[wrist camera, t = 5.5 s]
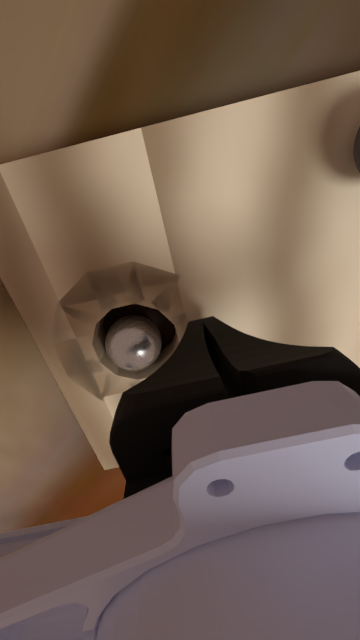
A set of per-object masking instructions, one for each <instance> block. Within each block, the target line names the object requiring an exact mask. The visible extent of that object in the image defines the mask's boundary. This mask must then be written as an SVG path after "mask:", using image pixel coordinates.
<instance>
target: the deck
mask: <svg viewBox="0 0 360 640" xmlns="http://www.w3.org/2000/svg"><path fill="white" fill-rule="evenodd" d="M359 127H360V71H356V72H353V73H349V74H345V75H341V76H337V77H333V78H330V79H326V80H322V81H318V82H314V83H310V84H307V85H303V86H299V87H295V88H291V89H287V90H284V91H280V92H276V93H272V94H268V95H264V96H261V97H257V98H253V99H249V100H245V101H242V102H238V103H234V104H230V105H226V106H222V107H219V108H215V109H211V110H207V111H203V112H199V113H196V114H192V115H188V116H184V117H180V118H176V119H173V120H169V121H165V122H161V123H157V124H153V125H150V126H146V127H142V128H138V129H134V130H130V131H127V132H123V133H119V134H115V135H111V136H107V137H104V138H100V139H96V140H92V141H88V142H84V143H81V144H77V145H73V146H69V147H65V148H62V149H58V150H54V151H50V152H46V153H42V154H39V155H35V156H31V157H27V158H23V159H19V160H16V161H12V162H8V163H4V164H0V278H1V280H2V282H3V284H4V285H5V287H6V289H7V291H8V293H9V295H10V297H11V298H12V300H13V302H14V304H15V306H16V308H17V309H18V311H19V313H20V315H21V317H22V319H23V321H24V322H25V324H26V326H27V328H28V330H29V332H30V333H31V335H32V337H33V339H34V341H35V343H36V345H37V346H38V348H39V350H40V352H41V354H42V356H43V357H44V359H45V361H46V363H47V365H48V367H49V369H50V370H51V372H52V374H53V376H54V378H55V380H56V381H57V383H58V385H59V387H60V389H61V391H62V393H63V394H64V396H65V398H66V400H67V402H68V404H69V405H70V407H71V409H72V411H73V413H74V415H75V417H76V418H77V420H78V422H79V424H80V426H81V428H82V429H83V431H84V433H85V435H86V437H87V439H88V441H89V442H90V444H91V446H92V448H93V450H94V452H95V453H96V455H97V457H98V459H99V461H100V463H101V465H102V466H103V468H104V470H107V469H112V468H117V467H119V465H118V463H117V461H116V459H115V457H114V455H113V453H112V451H111V447H110V444H109V439H110V431H111V427H112V423H113V419H114V415H115V412H116V409H117V406H118V403H119V401H120V398H121V396H122V393H123V392H124V391H126V390H128V389H130V388H131V387H133V386H135V385H136V384H138V383H140V382H141V381H143V380H144V379H146V378H147V377H149V376H150V375H151V374H153V373H154V372H155V371H156V370H157V369H159V368H160V367H161V366H162V365H163V364H164V363H165V362H166V361H167V360H168V359H169V358H170V356H171V355H172V354H173V352H174V351H175V349H176V348H177V346H178V344H179V343H180V341H181V339H182V337H183V335H184V333H185V330H186V327H187V324H188V322H189V321H193V320H198V319H202V318H207V317H211V316H214V317H216V318H217V319H219V320H220V321H222V322H224V323H225V324H227V325H229V326H231V327H232V328H234V329H236V330H239V331H241V332H243V333H245V334H248V335H251V336H254V337H257V338H260V339H264V340H267V341H272V342H277V343H282V344H289V345H299V346H317V347H334V348H336V349H337V350H339V351H340V352H341V353H343V354H344V355H345V356H346V357H348V358H349V359H350V360H351V361H353V362H354V363H355V364H356V365H357V366H358V367H359V368H360V173H359V171H358V169H357V167H356V165H355V161H354V155H353V149H354V142H355V138H356V135H357V132H358V129H359ZM130 304H139V305H142V306H146V307H150V308H154V309H157V310H159V311H160V312H161V313H162V314H163V315H164V316H165V317H166V318H167V319H169V320H170V321H171V322H172V323H173V324H174V325H175V329H176V331H175V334H174V337H173V340H172V342H171V343H170V344H168V345H167V346H166V347H165V348H164V349H163V350H161V351H160V354H159V356H158V358H157V359H156V360H155V361H154V363H153V364H151V365H150V366H149V367H147V368H145V369H142V370H139V371H127V370H124V369H121V368H119V367H118V366H116V365H115V364H114V363H113V362H112V361H111V360H110V359H109V357H108V355H107V352H106V348H105V339H106V335H107V333H106V331H105V328H104V326H103V322H104V317H105V315H106V314H107V313H108V312H109V311H110V310H111V309H113V308H118V307H122V306H126V305H130Z"/></svg>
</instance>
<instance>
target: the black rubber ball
mask: <svg viewBox="0 0 360 640" xmlns="http://www.w3.org/2000/svg"><path fill="white" fill-rule="evenodd" d="M353 155H354V161H355V165H356V167H357V169H358V171H359V173H360V127H359V129H358V132H357V135H356V138H355V142H354V149H353Z"/></svg>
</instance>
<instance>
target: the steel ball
mask: <svg viewBox="0 0 360 640" xmlns="http://www.w3.org/2000/svg"><path fill="white" fill-rule="evenodd" d="M161 347H162V338H161V334H160V332H159V330H158V328H157V326H156V325H155V324H154V323H153V322H152V321H151V320H149V319H147V318H145V317H143V316H139V315H129V316H125V317H122V318H120V319H119V320H117V321H116V322H115V323H113V325H112V326H111V327H110V328H109V330H108V332H107V335H106V339H105V348H106V352H107V355H108V357H109V359H110V360H111V361H112V362H113V363H114V364H115V365H116V366H118V367H119V368H121V369H124V370H127V371H139V370H142V369H145V368H147V367H149V366H150V365H151V364H153V363H154V361H155V360H156V359H157V358H158V356H159V354H160V351H161Z"/></svg>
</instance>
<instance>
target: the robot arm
mask: <svg viewBox="0 0 360 640" xmlns="http://www.w3.org/2000/svg"><path fill="white" fill-rule="evenodd" d="M109 444H110V447H111V451H112V453H113V455H114V457H115V459H116V461H117V463H118V465H119V467H120V469H121V471H122V473H123V475H124V477H125V480H126V486H125V493H124V499H123V500H121V501H119V502H117V503H115V504H112V505H110V506H108V507H106V508H104V509H102V510H100V511H98V512H96V513H94V514H91V515H89V516H86V517H81V518H76V519H71V520H66V521H60V522H55V523H50V524H45V525H40V526H35V527H30V528H25V529H20V530H14V531H9V532H4V533H0V640H360V368H359V367H358V366H357V365H356V364H355V363H354V362H353V361H351V360H350V359H349V358H348V357H346V356H345V355H344V354H343V353H341V352H340V351H339V350H337V349H336V348H334V347H317V346H299V345H289V344H282V343H277V342H272V341H267V340H264V339H260V338H257V337H254V336H251V335H248V334H245V333H243V332H241V331H239V330H236V329H234V328H232V327H231V326H229V325H227V324H225V323H224V322H222V321H220V320H219V319H217V318H216V317H214V316H211V317H207V318H202V319H198V320H193V321H189V322H188V324H187V327H186V330H185V333H184V335H183V337H182V339H181V341H180V343H179V344H178V346H177V348H176V349H175V351H174V352H173V354H172V355H171V356H170V358H169V359H168V360H167V361H166V362H165V363H164V364H163V365H162V366H161V367H160V368H159V369H157V370H156V371H155V372H154V373H153V374H151V375H150V376H149V377H147V378H146V379H144V380H143V381H141V382H140V383H138V384H136V385H135V386H133V387H131V388H130V389H128V390H126V391H124V392H123V393H122V396H121V398H120V401H119V403H118V406H117V409H116V412H115V415H114V419H113V423H112V427H111V431H110V439H109Z"/></svg>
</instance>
